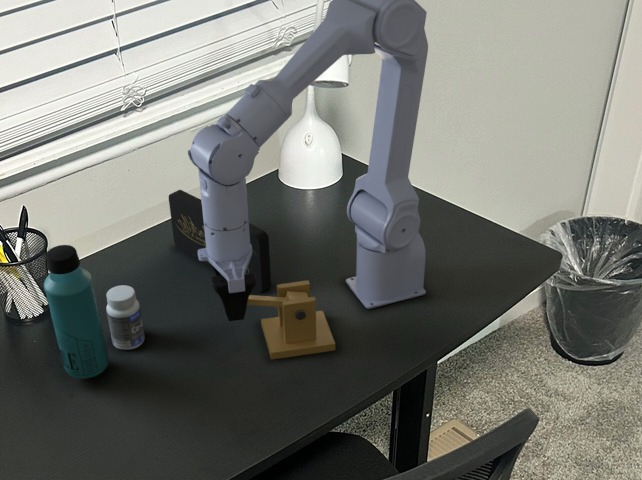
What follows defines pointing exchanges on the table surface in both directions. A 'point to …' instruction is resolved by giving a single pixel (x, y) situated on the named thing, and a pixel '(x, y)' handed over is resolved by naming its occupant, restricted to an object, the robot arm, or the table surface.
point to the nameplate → (192, 239)
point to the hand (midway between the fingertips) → (233, 306)
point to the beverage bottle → (75, 314)
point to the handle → (275, 299)
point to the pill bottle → (124, 318)
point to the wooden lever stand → (297, 326)
